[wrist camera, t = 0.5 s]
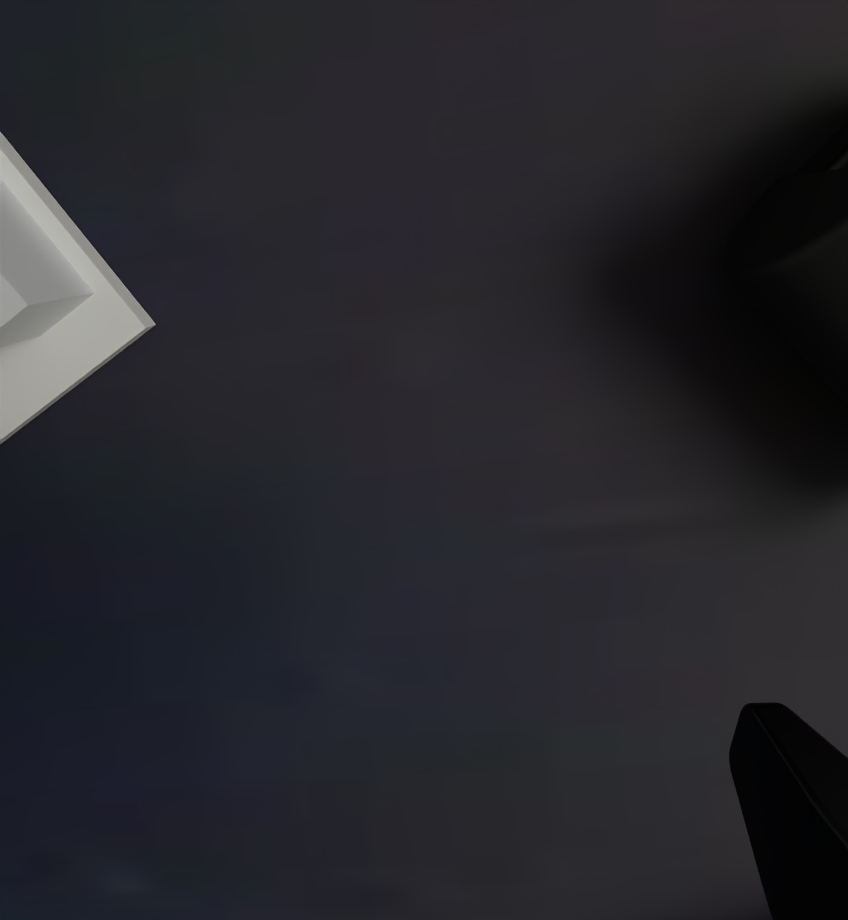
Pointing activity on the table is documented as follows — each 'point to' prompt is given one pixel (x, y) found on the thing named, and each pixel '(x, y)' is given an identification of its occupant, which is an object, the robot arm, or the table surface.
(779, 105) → the table surface
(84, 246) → the white slotted stand
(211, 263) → the table surface
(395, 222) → the table surface
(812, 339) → the black piece
